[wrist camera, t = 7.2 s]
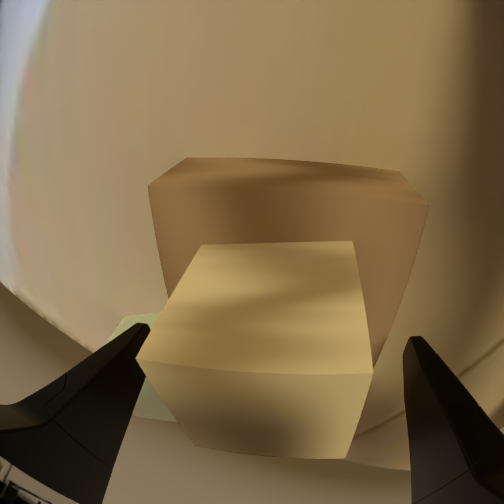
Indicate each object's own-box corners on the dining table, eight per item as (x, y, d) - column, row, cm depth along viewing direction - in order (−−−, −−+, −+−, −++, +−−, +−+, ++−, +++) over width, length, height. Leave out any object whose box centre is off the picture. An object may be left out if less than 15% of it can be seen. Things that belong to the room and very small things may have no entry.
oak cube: (352, 240, 9) (373, 372, 5) (344, 346, 12) (345, 458, 8) (201, 244, 10) (135, 358, 6) (227, 344, 13) (195, 446, 9)
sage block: (182, 308, 17) (149, 373, 13) (217, 361, 20) (196, 423, 16) (124, 316, 19) (89, 370, 15) (160, 363, 21) (135, 416, 17)
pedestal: (397, 169, 11) (428, 205, 8) (361, 324, 16) (366, 382, 13) (190, 155, 13) (147, 185, 9) (206, 309, 18) (184, 361, 14)
